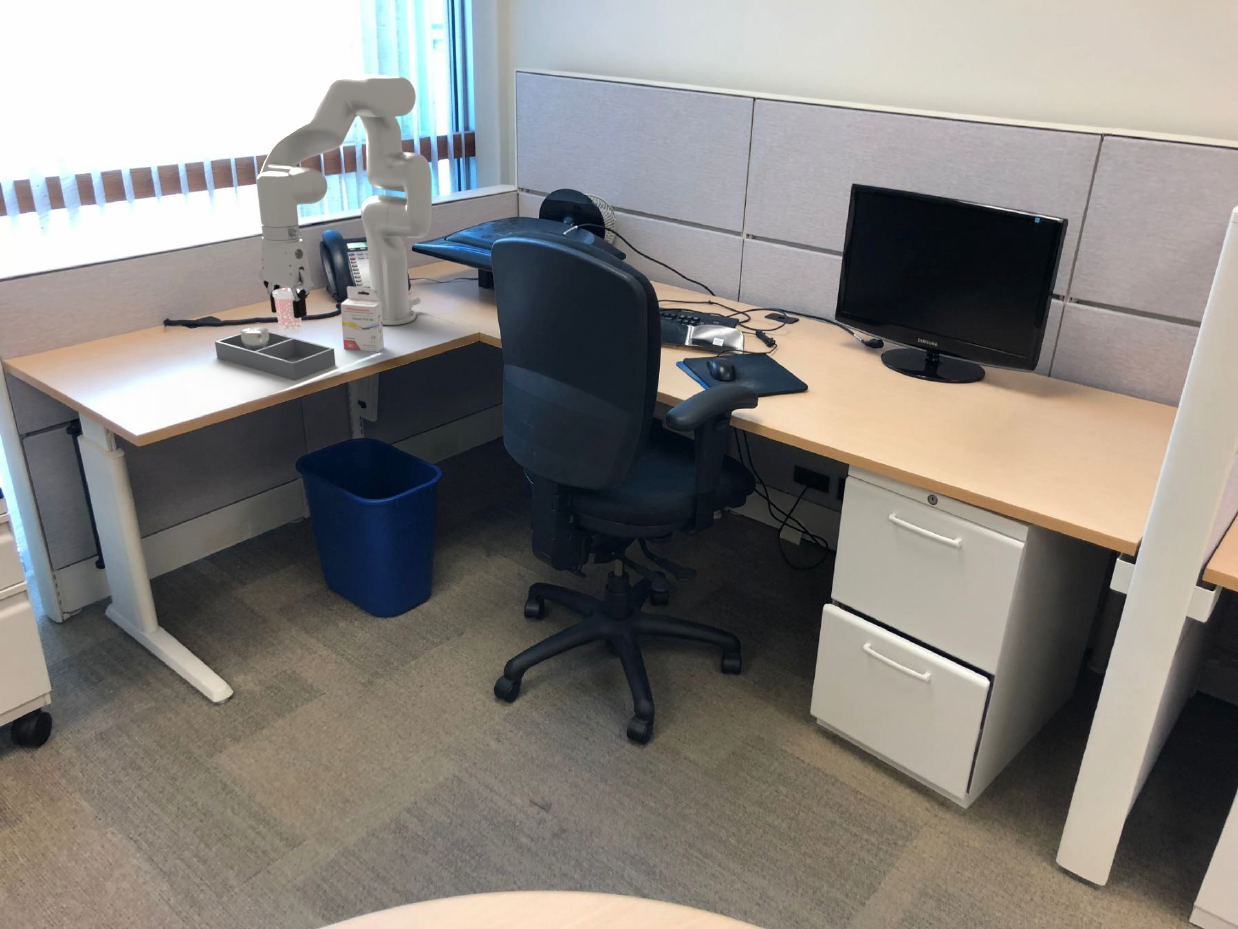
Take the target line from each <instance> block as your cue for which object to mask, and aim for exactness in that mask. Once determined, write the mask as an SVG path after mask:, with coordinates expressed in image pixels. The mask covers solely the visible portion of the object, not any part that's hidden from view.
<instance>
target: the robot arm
mask: <svg viewBox="0 0 1238 929" xmlns="http://www.w3.org/2000/svg"><path fill="white" fill-rule="evenodd" d="M416 97H417V96H416V90H415V88H414V86H413V84H412V82H411V81H410V80H409V79H407V78H405V77H402V76H395V75H394V76H393V75H382V74H369V73H368V74H367V73H356V74H351V75H348V74H340V75H339V74H337V75H335V76H333V77H331V78H330V79H329V80H328V81H327V83H326V84H325V86H324V88H323V90H322V91H321V94H320V95H319V98H318V100H317V102H316V104H315V105H314V108H313V109H312V111H311V114H310V115H309V118H308V119H307V121H306V122H305V123H303V124H302V125H301V126H298V127H297V128H295V129H294V130H292V131H291V132H290V133H288V134H287V135H285V136H284V137H283V138H281V139H280V140H278V142H276V144H274V145H273V147H272V148H271V149H270V151H269V153H268V155H267V157H266V159H265V160H264V163H263V165H262V167H261V170H260V173H259V174H258V175H257V177H256V187H257V197H258V207H259V215H260V216H259V217H260V225H261V232H262V237H261V248H260V250H261V253H260V254H261V255H260V258H261V270H260V272H259V273H258V277H259V279H260V280H261V282H262V283H263V286H264V287H265V289H266V292H267V294H268V295H269V300H270V308H271V313H273V314H275V313H276V314H277V311H276V306H275V300H274V297H273V294H272V292H273V291H274V290H277V289H281V288H282V287H284V288H285V287H288V288H290V289H291V291H292V294H293V297H294V299H295V300H293V312H294V318H296V319H298V318H301V319H302V318H304V317H306V316H307V315H308V312H307V303H306V299H308V295H310V293H311V291H313V288H314V287H315V285H314V283H313V281H312V280H311V271H310V266H309V260H308V255H307V251H306V247H305V243H304V240H303V239H301V231H300V225H299V216H298V214H299V213H298V206H299V205H311V204H312V205H313V204H316V203H318V202H320V201H321V200H323V199H324V198H325V196H326V194H327V190H328V182H327V179H326V177H325V175H324V174H323V173H322V172H321V171H319V170H318V169H316V168H311V167H306V166H297V165H298V164H301V162H303V161H305V160H307V159H310V158H312V157H316V156H319V155H323V154H326V153H329V152H332V151H334V150H336V149H338V148H340V147H341V146H342V145H343V143H344V141H345V139H346V137H347V135H348V133H349V131H350V129H351V127H352V124H353V123H354V121H355V119H356V118H357V117H359V118H360V120H361V122H362V124H363V127H364V132H365V155H366V158H365V159H366V161H365V162H366V176H367V180H368V183H369V184H370V185H371V186H372V187H373V188H375V189H379V190H382V191H383V190H384V191H392V192H399V193H405V196H406V197H402V196H401V197H400V196H395V195H386V194H376V195H375V194H374V195H370V196H369V197H367V198H366V199H365V200H364V201H363V203H362V205H361V208H360V216H361V221H362V226H363V230H364V233H365V234H364V235H365V238H366V245H367V254H368V255H367V258H368V270H369V285H370V286H369V288H374V289H379V290H380V301H381V305H382V323H383V326H398V325H404V324H405V325H406V324H407V323H408V324H409V323H411V322H413V321H414V320H416V317H417V316H416V314H417V313H416V312H415V311H413V309H412V308H413V307H414V306H418V305H420V304H421V299H420V298H419V297H418V296H416V297H413V298H410V297H409V282H408V281H409V280H408V278H409V277H408V260H407V259H408V258H407V257H408V256H407V251H406V250H407V249H406V247H405V244H404V242H403V240H402V238H408V239H409V238H410V239H411V238H412V239H421V238H424V237H426V236H427V235H428V234H429V231H430V230H431V225H432V216H433V214H432V211H433V210H432V201H433V200H432V198H433V197H432V196H433V188H432V185H433V184H432V169H431V166H430V164H429V161H428V159H427V158H426V157H425V156H424V155H422V154H420V153H416V152H409V151H404V150H403V144H402V129H401V127H400V126H401V125H400V122H399V121H398V119H397V117H404V116H406V115H408V114H409V113H411V112H412V111H413V109H414V106H415V105H416V100H417V99H416ZM401 237H402V238H401ZM297 289H299V290H300V292H299V293H298V292H297Z"/></svg>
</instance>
